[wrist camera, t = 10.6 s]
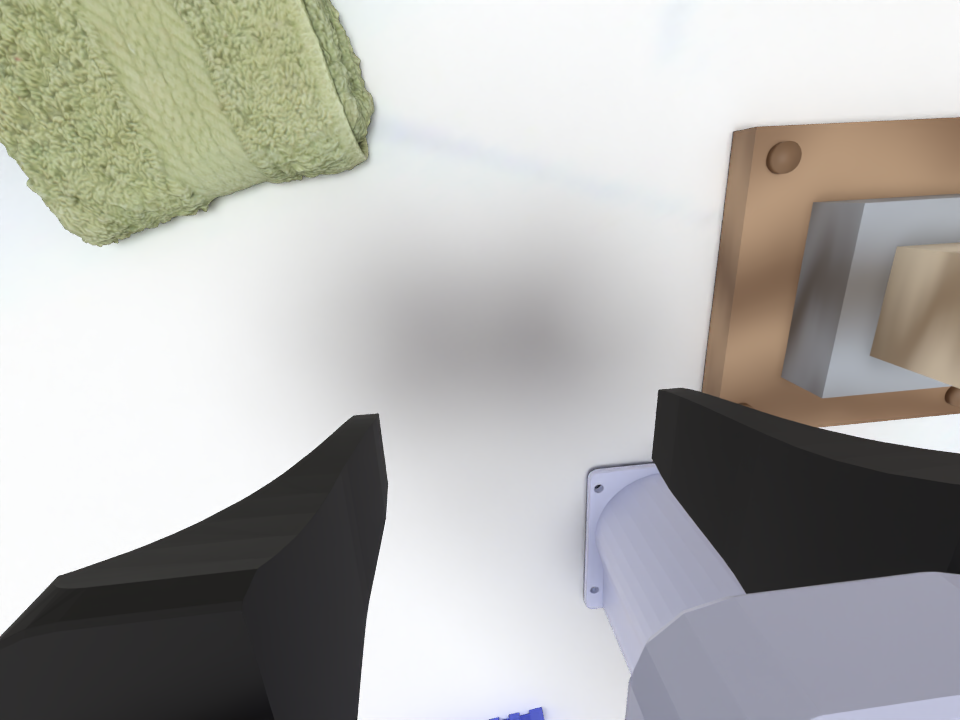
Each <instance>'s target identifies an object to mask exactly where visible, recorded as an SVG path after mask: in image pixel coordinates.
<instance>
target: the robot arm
mask: <svg viewBox="0 0 960 720" xmlns="http://www.w3.org/2000/svg"><path fill="white" fill-rule="evenodd" d="M652 459H653V461H654V463H651V464H642V465H632V466H622V467H612V468H602V469H596V470H593V471H592V472H590V474H589V475H588V489H587V520H586V551H585V582H584V602H585V604H586V606H587V607H588V608H590V609H597V608H604V610H605V613H606V615H607V618H608V620H609V622H610V625H611V627H612V630H613V632H614V635H615V637H616V639H617V642H618V644H619V647H620V649H621V651H622V654H623V656H624V659H625V661H626V663H627V666H628V668H629V671H630V673H631V678H630V680H629V686H628V696H627V706H626V716H625V720H960V454H959V453H951V452H943V451H936V450H928V449H922V448H916V447H909V446H903V445H897V444H891V443H885V442H880V441H875V440H869V439H864V438H860V437H855V436H851V435H846V434H842V433H837V432H833V431H828V430H824V429H820V428H817V427H813V426H809V425H805V424H802V423H798V422H795V421H791V420H788V419H784V418H781V417H778V416H775V415H771V414H768V413H765V412H762V411H759V410H755V409H752V408H749V407H746V406H743V405H740V404H737V403H734V402H731V401H728V400H725V399H722V398H719V397H716V396H712V395H709V394H706V393H702V392H699V391H695V390H690V389H685V388H674V389H662V390H658V400H657V410H656V420H655V431H654V441H653V451H652ZM596 485H601V486H600V487H599V488H597V489H595V486H596ZM387 492H388V480H387V473H386V465H385V458H384V450H383V443H382V435H381V428H380V420H379V414H367V415H356V416H353V417H351V418H350V419H349V420H347V421H346V422H345V423H344V424H343V425H342V426H341V427H339V428H338V429H337V430H336V431H335V432H334V433H333V434H332V435H330V436H329V437H328V438H327V439H326V440H325V441H324V442H322V443H321V444H320V445H319V446H318V447H317V448H315V449H314V450H313V451H312V452H311V453H309V454H308V455H307V456H305V457H304V458H303V459H302V460H300V461H299V462H298V463H296V464H295V465H294V466H293V467H291V468H290V469H289V470H287V471H286V472H285V473H283V474H282V475H281V476H279V477H278V478H276V479H275V480H273V481H272V482H270V483H269V484H267V485H266V486H264V487H262V488H261V489H259V490H258V491H256V492H254V493H253V494H251V495H250V496H248V497H246V498H244V499H243V500H241V501H239V502H237V503H235V504H233V505H231V506H230V507H228V508H226V509H224V510H222V511H220V512H218V513H216V514H214V515H212V516H210V517H209V518H207V519H205V520H203V521H201V522H199V523H197V524H194V525H192V526H190V527H188V528H186V529H183V530H181V531H179V532H177V533H175V534H172V535H170V536H167V537H165V538H163V539H160V540H158V541H155V542H153V543H151V544H148V545H146V546H143V547H141V548H138V549H135V550H133V551H130V552H127V553H125V554H122V555H119V556H116V557H113V558H110V559H107V560H105V561H102V562H99V563H96V564H93V565H90V566H87V567H85V568H82V569H79V570H76V571H73V572H70V573H67V574H64V575H60V576H58V577H57V578H56V579H55V580H54V581H53V582H52V583H51V584H50V585H49V586H48V587H47V588H46V589H45V591H44V592H43V593H42V594H41V595H40V596H39V597H38V598H37V599H36V600H35V601H34V602H33V603H32V604H31V605H30V606H29V607H28V608H27V609H26V610H25V611H24V612H23V613H22V614H21V615H20V616H19V618H18V619H17V620H16V621H15V622H14V623H13V624H12V625H11V626H10V627H9V628H8V629H7V630H6V631H5V632H4V633H3V634H2V635H1V636H0V720H357V716H358V704H359V692H360V680H361V669H362V658H363V648H364V637H365V627H366V618H367V612H368V605H369V599H370V594H371V589H372V584H373V580H374V575H375V570H376V565H377V560H378V555H379V550H380V545H381V540H382V535H383V530H384V525H385V520H386V508H387ZM592 587H594V588H592Z"/></svg>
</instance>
